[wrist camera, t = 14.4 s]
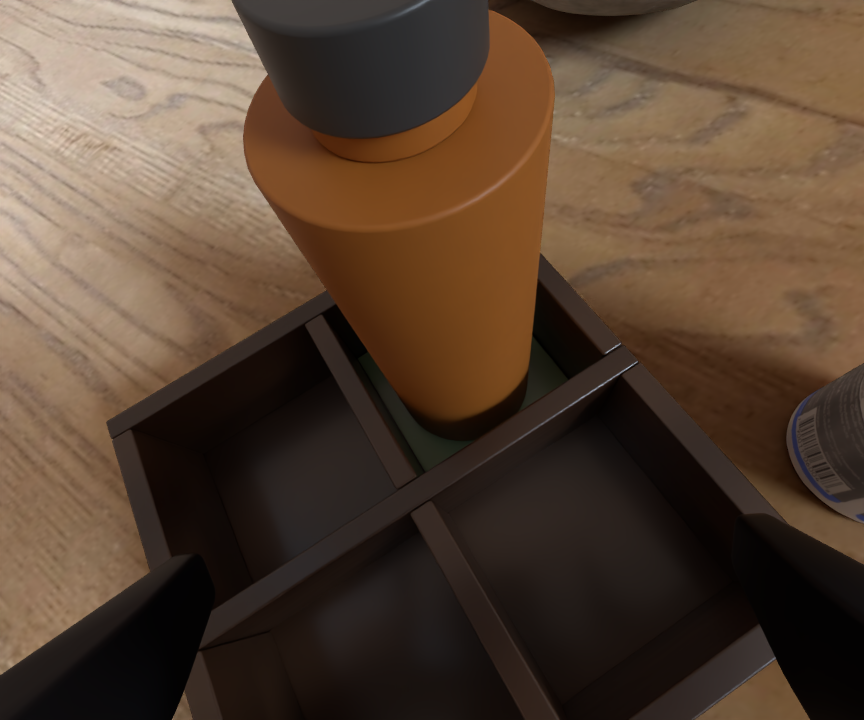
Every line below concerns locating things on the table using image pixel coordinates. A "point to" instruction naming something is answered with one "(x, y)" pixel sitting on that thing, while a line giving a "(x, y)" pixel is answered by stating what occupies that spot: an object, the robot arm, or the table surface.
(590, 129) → the table surface
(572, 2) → the bowl
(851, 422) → the pill bottle
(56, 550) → the table surface
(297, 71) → the amber bottle
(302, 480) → the rack
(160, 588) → the robot arm
